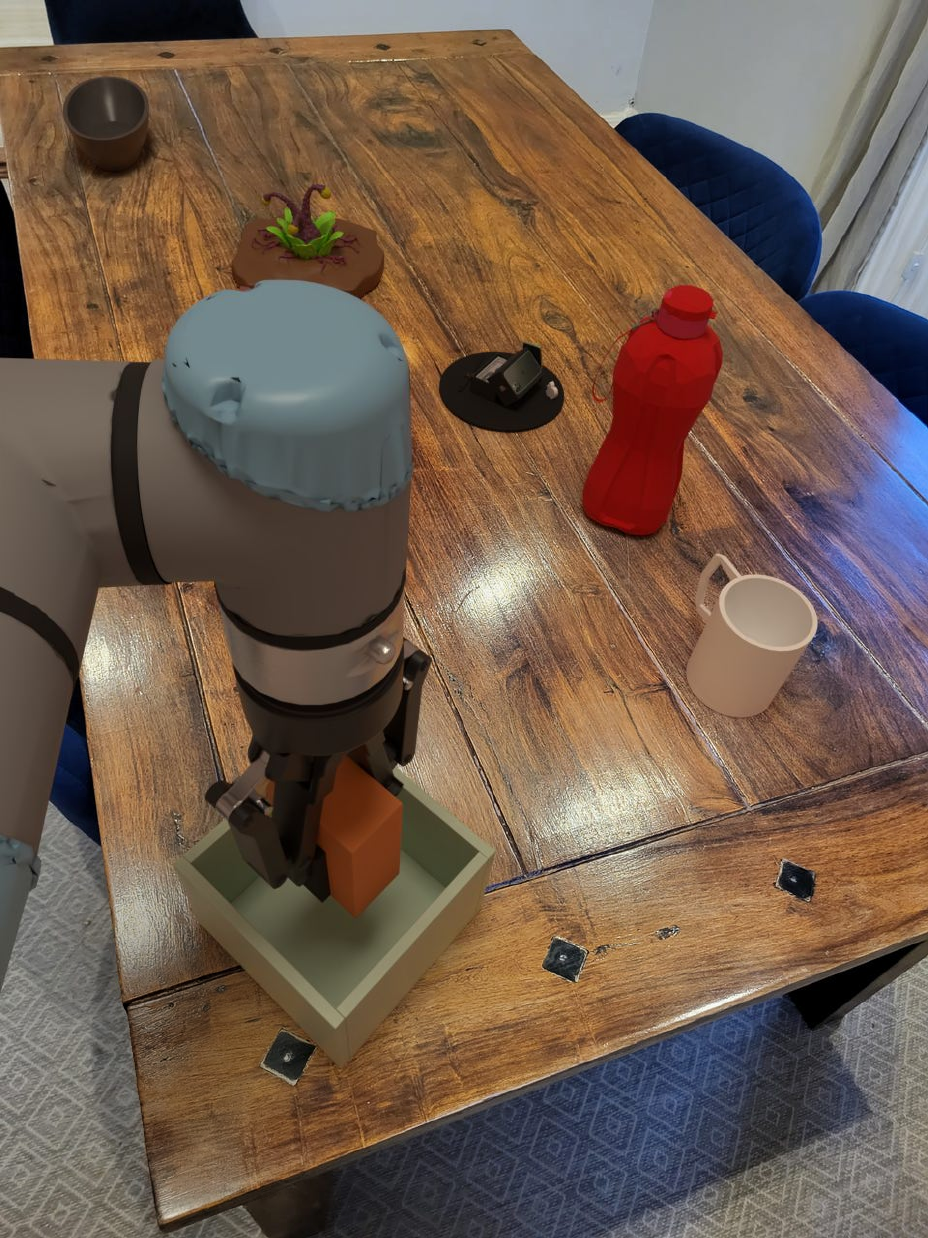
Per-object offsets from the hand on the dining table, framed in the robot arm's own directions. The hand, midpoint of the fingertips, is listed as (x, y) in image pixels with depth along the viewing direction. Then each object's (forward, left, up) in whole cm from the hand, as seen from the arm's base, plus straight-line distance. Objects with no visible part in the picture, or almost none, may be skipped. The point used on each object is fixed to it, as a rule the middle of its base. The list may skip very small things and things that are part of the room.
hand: (338, 858), depth 56 cm
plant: (+59, +66, -11) cm, 89 cm away
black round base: (+57, +31, -11) cm, 66 cm away
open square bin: (0, 0, -10) cm, 10 cm away
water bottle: (+51, +10, -11) cm, 53 cm away
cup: (+40, -9, -11) cm, 42 cm away
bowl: (+60, +110, -11) cm, 126 cm away
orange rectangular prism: (0, 0, 0) cm, 0 cm away
